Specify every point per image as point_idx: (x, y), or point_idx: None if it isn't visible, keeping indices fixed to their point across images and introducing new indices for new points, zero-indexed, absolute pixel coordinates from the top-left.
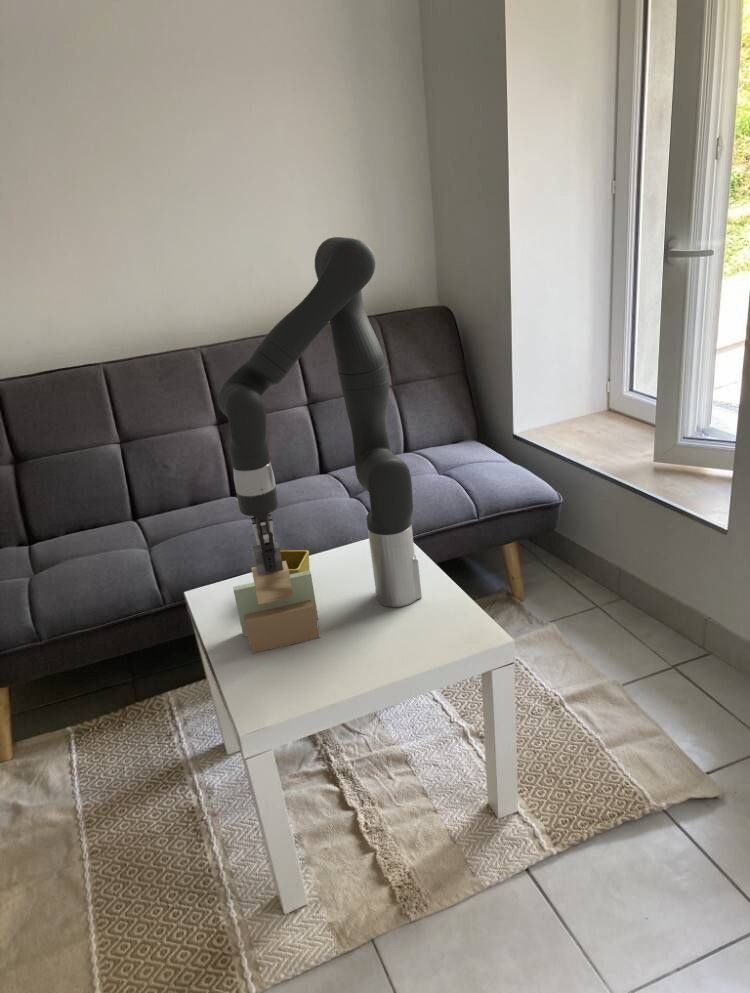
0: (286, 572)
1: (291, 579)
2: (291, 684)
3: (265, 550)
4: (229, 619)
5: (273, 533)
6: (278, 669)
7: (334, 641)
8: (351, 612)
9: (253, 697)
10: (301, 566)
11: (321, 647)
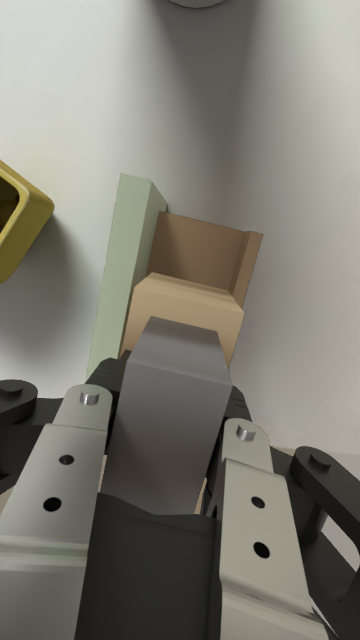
0: (240, 324)
1: (136, 260)
2: (357, 351)
3: (312, 536)
4: (47, 374)
5: (296, 541)
6: (292, 354)
7: (282, 211)
8: (190, 110)
9: (341, 420)
10: (2, 168)
11: (283, 247)
